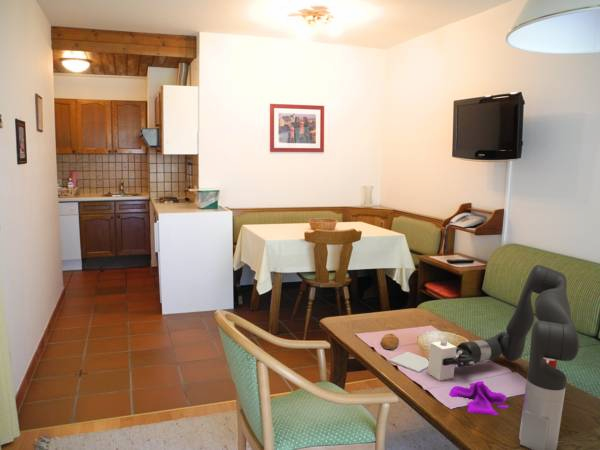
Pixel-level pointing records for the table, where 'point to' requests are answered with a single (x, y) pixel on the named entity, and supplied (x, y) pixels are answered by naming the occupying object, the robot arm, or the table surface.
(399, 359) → the mat
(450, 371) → the white square bottle
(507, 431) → the table surface
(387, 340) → the pastry
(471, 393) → the cloth
